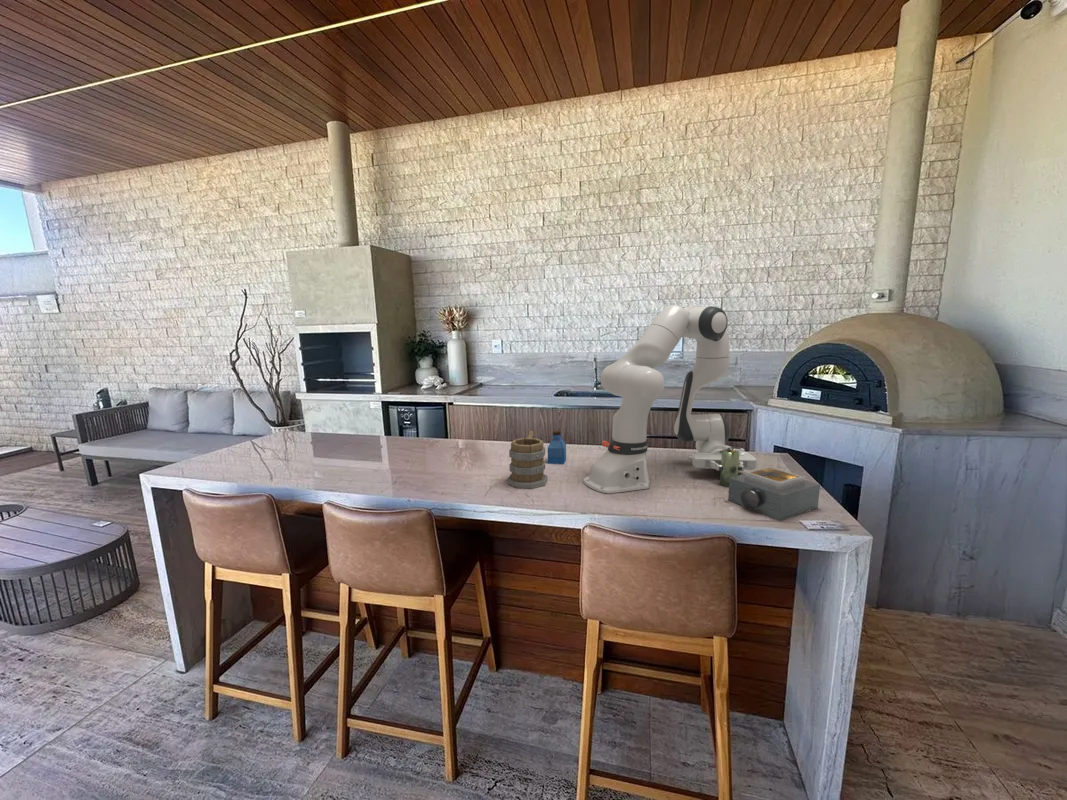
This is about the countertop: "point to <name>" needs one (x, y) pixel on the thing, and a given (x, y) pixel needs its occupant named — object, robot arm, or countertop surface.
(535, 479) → the tankard
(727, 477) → the spout can
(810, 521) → the countertop surface
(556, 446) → the perfume bottle
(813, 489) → the gearbox housing
